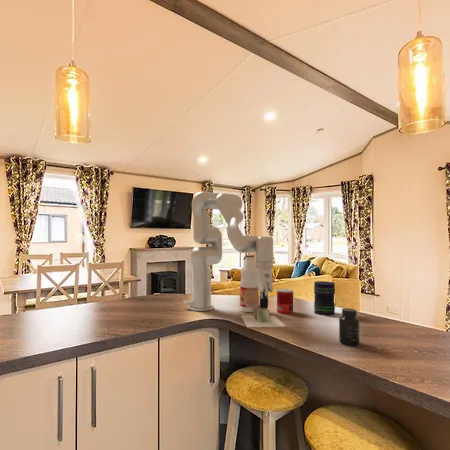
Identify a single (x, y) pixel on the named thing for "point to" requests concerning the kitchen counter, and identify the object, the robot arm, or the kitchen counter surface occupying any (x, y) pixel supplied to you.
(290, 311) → the canned food
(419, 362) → the kitchen counter surface
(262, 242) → the robot arm
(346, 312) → the supplement bottle
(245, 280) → the fruit juice
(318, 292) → the storage jar
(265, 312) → the block
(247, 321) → the mat
